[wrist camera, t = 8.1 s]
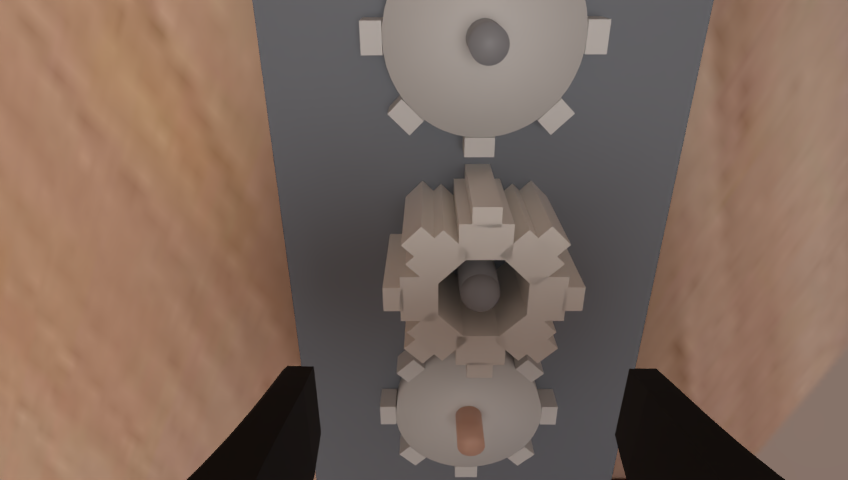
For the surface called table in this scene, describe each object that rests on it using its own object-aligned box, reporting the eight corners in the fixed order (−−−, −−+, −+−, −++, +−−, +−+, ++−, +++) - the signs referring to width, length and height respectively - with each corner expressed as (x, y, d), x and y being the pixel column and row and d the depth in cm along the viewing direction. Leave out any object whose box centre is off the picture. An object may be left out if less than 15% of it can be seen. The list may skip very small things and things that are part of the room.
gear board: (602, 463, 25) (637, 564, 21) (322, 462, 26) (300, 563, 21) (729, -177, 15) (855, -235, 10) (242, -173, 15) (166, -228, 10)
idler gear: (550, 313, 20) (572, 377, 17) (393, 314, 20) (386, 377, 17) (567, 163, 18) (598, 207, 15) (387, 164, 18) (378, 207, 15)
